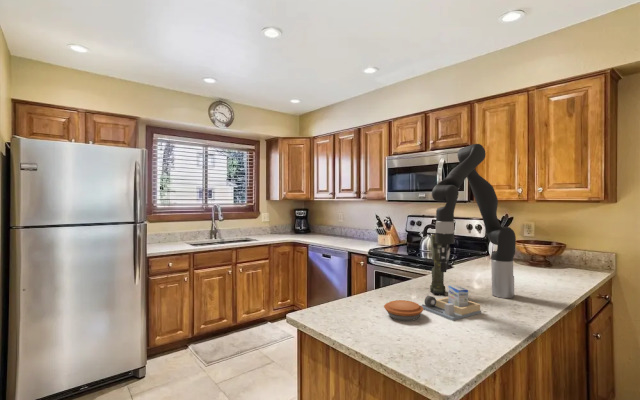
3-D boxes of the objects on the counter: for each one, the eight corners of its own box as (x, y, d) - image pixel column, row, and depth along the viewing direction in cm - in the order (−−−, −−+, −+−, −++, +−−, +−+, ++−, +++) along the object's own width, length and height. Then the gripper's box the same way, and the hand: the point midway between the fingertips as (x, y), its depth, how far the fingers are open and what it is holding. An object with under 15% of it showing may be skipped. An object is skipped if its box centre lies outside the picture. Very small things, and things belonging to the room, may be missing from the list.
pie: (395, 325, 123) (395, 311, 123) (377, 311, 138) (377, 299, 138) (431, 320, 127) (431, 307, 127) (410, 308, 142) (410, 296, 142)
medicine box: (447, 305, 142) (447, 285, 142) (457, 304, 143) (457, 284, 143) (458, 311, 134) (458, 290, 134) (468, 310, 135) (468, 289, 135)
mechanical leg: (448, 296, 155) (445, 233, 162) (432, 295, 157) (430, 233, 164) (443, 294, 168) (441, 236, 175) (429, 294, 170) (427, 236, 177)
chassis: (447, 301, 150) (447, 290, 150) (481, 313, 135) (480, 300, 135) (420, 307, 142) (419, 296, 142) (452, 320, 127) (452, 307, 127)
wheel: (431, 304, 142) (431, 294, 142) (436, 306, 139) (436, 296, 139) (424, 306, 140) (424, 296, 140) (429, 308, 137) (429, 298, 137)
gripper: (437, 230, 147) (437, 266, 147) (433, 232, 135) (433, 272, 134) (455, 231, 144) (455, 267, 144) (453, 233, 131) (452, 274, 131)
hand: (444, 270), depth 139 cm, fingers open, 8 cm apart
